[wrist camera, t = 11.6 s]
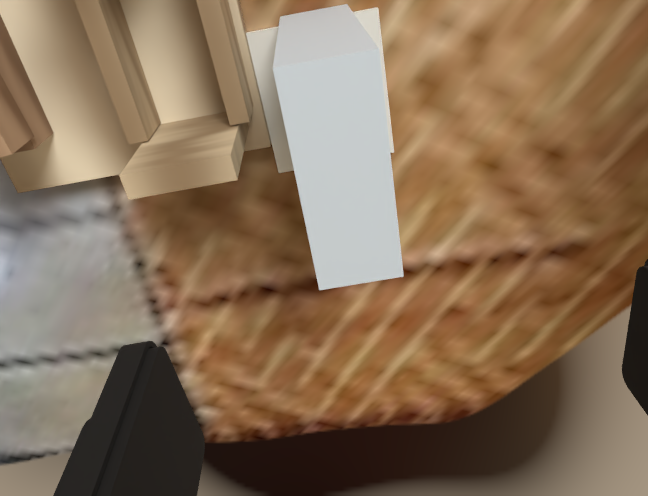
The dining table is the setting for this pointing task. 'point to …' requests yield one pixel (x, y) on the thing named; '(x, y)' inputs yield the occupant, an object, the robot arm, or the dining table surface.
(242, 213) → the dining table surface
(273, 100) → the felt pad
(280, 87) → the white rectangular block
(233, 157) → the rack
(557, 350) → the dining table surface
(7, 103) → the offcut top
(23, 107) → the block
